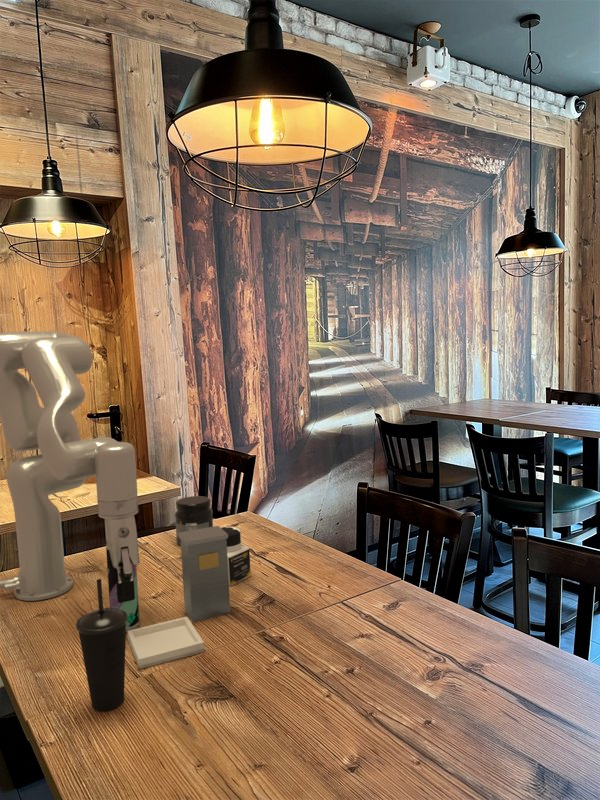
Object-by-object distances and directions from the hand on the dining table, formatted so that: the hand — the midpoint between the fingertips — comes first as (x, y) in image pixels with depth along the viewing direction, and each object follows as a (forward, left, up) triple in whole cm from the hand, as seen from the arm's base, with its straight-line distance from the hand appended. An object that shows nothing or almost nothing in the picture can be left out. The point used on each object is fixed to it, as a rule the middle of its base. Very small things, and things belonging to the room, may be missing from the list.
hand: (123, 593), depth 118 cm
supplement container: (+26, +43, -7) cm, 50 cm away
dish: (+5, -11, -7) cm, 14 cm away
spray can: (0, 0, -7) cm, 7 cm away
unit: (+16, -2, -7) cm, 18 cm away
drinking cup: (-7, -24, -7) cm, 26 cm away
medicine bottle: (+26, +13, -7) cm, 30 cm away
